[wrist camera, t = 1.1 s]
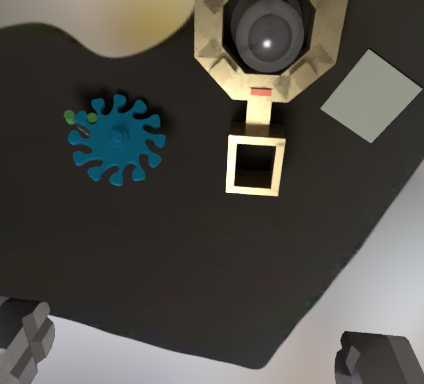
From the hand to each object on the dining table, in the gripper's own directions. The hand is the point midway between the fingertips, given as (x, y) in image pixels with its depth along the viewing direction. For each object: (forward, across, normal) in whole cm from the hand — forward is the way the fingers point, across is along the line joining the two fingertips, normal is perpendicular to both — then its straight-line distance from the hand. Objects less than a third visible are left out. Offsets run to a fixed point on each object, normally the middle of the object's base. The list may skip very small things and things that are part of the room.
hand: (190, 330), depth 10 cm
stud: (+31, -2, -6) cm, 32 cm away
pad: (+32, -14, +1) cm, 35 cm away
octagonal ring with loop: (+31, -2, -1) cm, 31 cm away
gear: (+32, +13, +5) cm, 35 cm away
